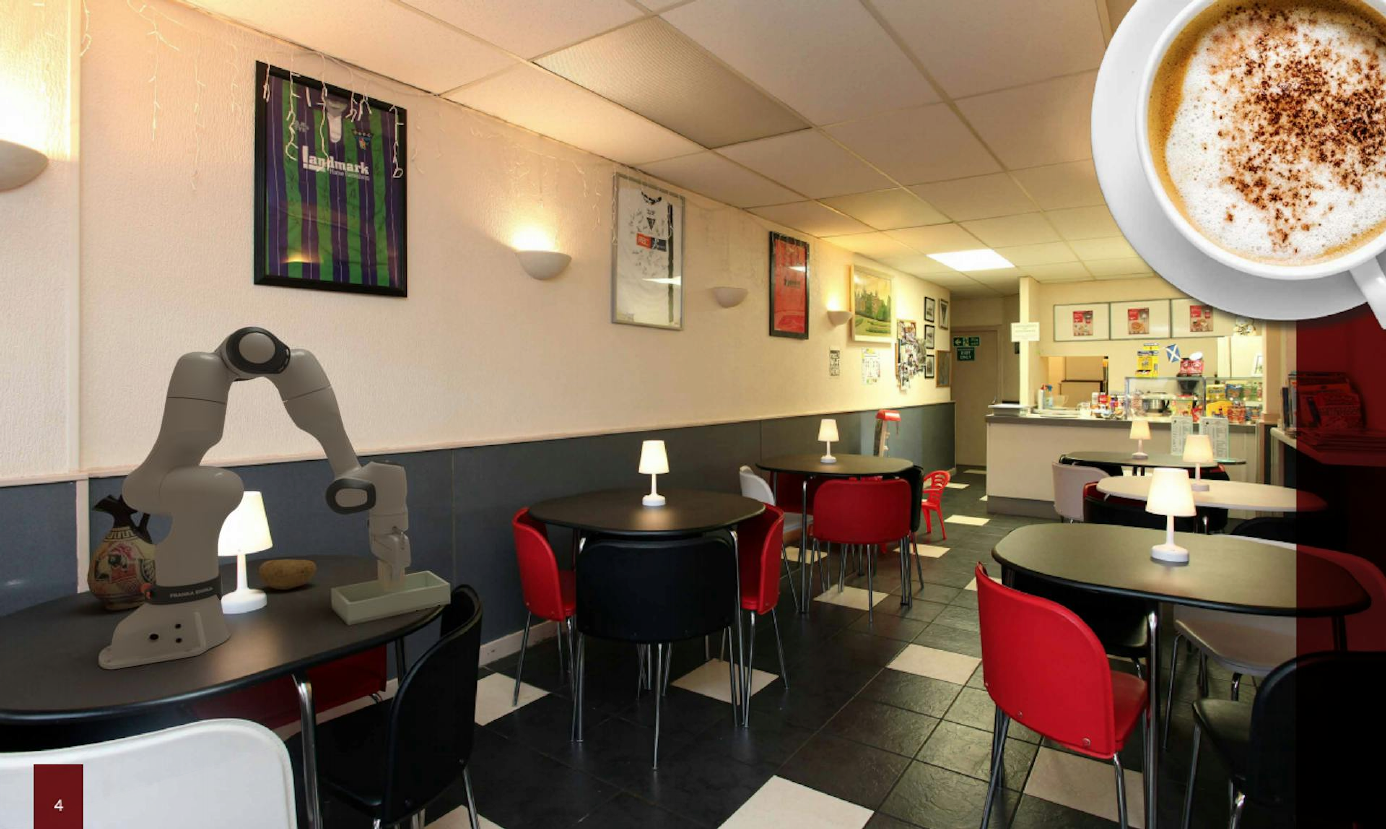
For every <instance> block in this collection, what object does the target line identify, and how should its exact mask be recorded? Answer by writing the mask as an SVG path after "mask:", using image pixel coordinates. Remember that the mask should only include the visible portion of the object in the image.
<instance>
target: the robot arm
mask: <svg viewBox="0 0 1386 829" xmlns="http://www.w3.org/2000/svg"><path fill="white" fill-rule="evenodd" d="M261 377H262V378H263V377H264V378H265V379H268V381H270V382H271V383H272V384H273V385H274V387H275V388H276V389H277V390H278V394H279V397H280V399H281V402H282V404H283V406H284V408H285V409H284V410H285V411H286V412H287V414H288V416H289V418H290V419H291V420H292V423H293V424H294V425H295V426H296V427H297V428H298V429H300V430H301V431H304V432H305V433H307V434H309V435H310V436H311V437H313V438H314V439H316V440H317V441H318V443H319V444H320V445H321V447H322V450H323V451H324V453H325V455H326V458H327V461H328V462H329V464H330V466H331V468H332V471H333V473H334V480H333V481H332V482H331V483H330V484H329V485H328V487H327V489H326V491H325V496H324V497H325V502H326V505H327V506H328V508H330V510H332V511H333V512H335V513H336V514H339V515H343V516H344V515H345V516H346V515H355V514H357V513H363V512H366V511H368V512H369V517H368V518H366V523H365V524H366V527H367V528H368V536H369V545H370V549H371V553H372V554H374V556H376V557H377V558H379V559H382V560H384V561H385V562H387V563H388V564H390V565H391V568H392V574H391V580H392V581H393V582H396V581H399V580H400V572H401V568H404V567H405V568H408V567H410V566H411V562H412V558H411V547H410V541H409V537H408V536H407V535H406V534H405V533H404V532H407V530H408V529H409V510H408V506H407V496H408V483H407V475H406V470H405V468H404V465H403V464H401V462H399V461H397V460H393V459H384V458H377V459H373V460H372V459H371V461H370V462H369V463H367V464H365V465H363V464H362V463H361V462H360V460H359V458H358V456H357V454H356V452H355V450H354V448H353V446H352V443H351V442H350V439H349V437H348V434H347V433H346V430H345V427H344V423H343V419H342V416H341V411H340V408H339V404H338V400H337V397H336V394H335V391H334V389H333V387H332V384H331V381H330V380H329V378H328V376H327V374H326V372H325V370H324V368H323V367H322V365H321V363H320V361H319V360H318V359H317V357H316V356H315V355H314V353H312V351H310V350H307V349H305V348H304V349H303V348H292V349H290V347H289V346H288V345H287V344H286V343H284V342H283V341H281V340H280V339H279V338H278V337H277V336H276V335H275V334H274V333H272V332H271V331H269V330H267V329H265V328H262V327H259V326H245V327H241V328H239V329H237V330H235V331H234V332H232V333H230V334H228V335H227V336H226V337H225V338H224V340H223V341H222V342H221V343H220V344H219V345H218V347H217V348H216V349H215V350H214V351H212V352H206V351H192V352H187V353H184V354H183V355H181V356H180V357H179V358H178V360H177V361H176V363H175V366H174V367H173V371H172V374H171V377H170V379H169V384H168V387H167V392H166V395H165V396H166V397H165V402H164V407H163V408H164V409H163V414H162V419H161V424H160V428H159V433H158V436H157V438H156V441H155V443H154V444H153V447H152V449H151V450H150V452H149V453H148V455H147V456H146V458H145V459H144V461H143V462H142V463H141V464H140V465H139V466H137V467H136V468H135V469H134V470H132V471H131V472H130V473H129V474H127V476H126V477H125V479H124V480H123V482H122V484H121V485H122V486H121V494H122V497H123V499H124V501H125V503H126V504H127V505H128V506H129V507H131V508H132V509H135V510H138V511H139V512H141V513H147V514H151V515H152V516H170V517H171V518H172V522H171V523H172V524H171V527H170V529H169V533H168V535H167V536H166V537H164V538H163V539H161V540H160V541H159V542H158V543H157V544H156V545H155V546H156V548H155V551H154V553H155V572H156V582H155V583H154V584H151V583H145V584H143V586H141V591H142V593H144V598H145V603H144V604H143V605H141V606H138V608H136V609H135V610H134V611H133V612H132V613H130V614H129V615H128V616H126V617H125V618H123V619H122V620H121V621H120V622H119V623H118V624H117V625H116V628H115V630H114V631H113V633H112V634H113V635H112V639H111V644H110V645H108V646H106V647H105V648H103V649H102V650H101V651H100V652H99V655H98V665H99V666H100V667H101V668H102V669H106V670H115V669H122V668H123V669H125V668H128V667H135V666H140V665H147V664H153V663H158V662H166V661H172V660H179V659H184V658H190V657H194V656H199V655H201V654H203V653H205V652H206V651H208V650H209V649H212V648H214V647H217V646H219V645H221V644H223V643H225V642H226V641H227V640H229V639H230V637H231V632H230V630H229V628H228V625H227V622H226V618H225V614H224V609H223V605H222V599H223V592H224V591H223V578H222V576H221V573H220V571H219V539H220V534H221V531H222V528H223V525H224V523H225V522H226V520H227V518H228V517H229V515H230V514H231V513H232V512H234V511H235V510H236V509H237V508H238V507H239V506H240V504H241V502H242V500H243V499H244V496H245V495H244V494H245V487H244V483H243V480H242V478H241V477H240V476H239V475H238V473H237V472H234V471H232V470H229V469H226V468H222V467H218V466H214V465H201V462H202V460H203V458H204V456H205V455H206V454H207V452H208V451H209V450H210V449H211V448H213V447H214V446H216V445H217V444H219V443H220V442H221V440H222V438H223V436H224V428H225V422H226V415H227V407H228V401H229V394H230V393H229V392H230V390H231V386H232V385H233V383H236V382H245V381H253V380H254V379H257V378H261ZM151 515H150V516H151ZM150 584H151V585H150Z"/></svg>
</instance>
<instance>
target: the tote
mask: <svg viewBox="0 0 1386 829" xmlns="http://www.w3.org/2000/svg"><path fill="white" fill-rule="evenodd" d="M330 594H331V595H330V596H331V609H332V610H333V611H334V612H335V613H336V614H337V615H338V616H339V618H341V619H342V621H344V623H345V624H346V625H347V626H349V627H350V626H354V625H358V624H362V623H368V622H371V621H377V620H382V619H385V618H389V617H393V616H395V617H396V616H399V615H402V614H408V613H412V612H416V610H418V611H422V610H425V609H426V608H427V609H430V608H435V607H439V606H438V605H440V606H444V605H450V604H451V601H452V600H451V584H450V583H449V582H447V581H446V580H445V579H443V578H441V577H439V576H438V575H436V574H435V573H433V572H431V571H429V570H424V571H419V572H418V571H417V572H415V573H413V572H412V573H409V574H405V588H400V589H395V590H390V591H383V590H382V589H381V588H379V587H378V579H375V580H369V581H365V582H360V583H355V584H348V585H343V586H337V587H332V588H331V591H330Z"/></svg>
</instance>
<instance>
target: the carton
mask: <svg viewBox="0 0 1386 829" xmlns="http://www.w3.org/2000/svg"><path fill="white" fill-rule="evenodd" d="M391 574H392V568H391V565H390V564H388V563H387V562H385V561H384V560H382V559H380V558H379V559H377V580H378V587H379V588H381V589H382V590H383V591H390V590H395V589H400V588H405V575H406V567H404V568H401V572H400V580H399V581H396V582H393V581H392V580H391Z"/></svg>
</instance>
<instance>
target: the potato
mask: <svg viewBox="0 0 1386 829" xmlns="http://www.w3.org/2000/svg"><path fill="white" fill-rule="evenodd" d="M257 572H258V576H259V579H260V580H261V582H262V583H263V584H264V585H265V586H268V587H270V588H272V589H275V590H280V591H281V590H282V591H284V590H287V591H288V590H291V589H294V588H297V587H302V586H304V585H305V584H307V583H308V582H309V581H310V580H311V579H312V578H313V577H314V576H315V575H316V572H317V565H316V563H315V562H313V561H312V560H308V559H292V558H291V559H290V558H289V559H288V558H287V559H286V558H285V559H284V558H283V559H272V560H271V559H270V560H266V561H264V562H262V564H260V566H259V568H258V570H257Z"/></svg>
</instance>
